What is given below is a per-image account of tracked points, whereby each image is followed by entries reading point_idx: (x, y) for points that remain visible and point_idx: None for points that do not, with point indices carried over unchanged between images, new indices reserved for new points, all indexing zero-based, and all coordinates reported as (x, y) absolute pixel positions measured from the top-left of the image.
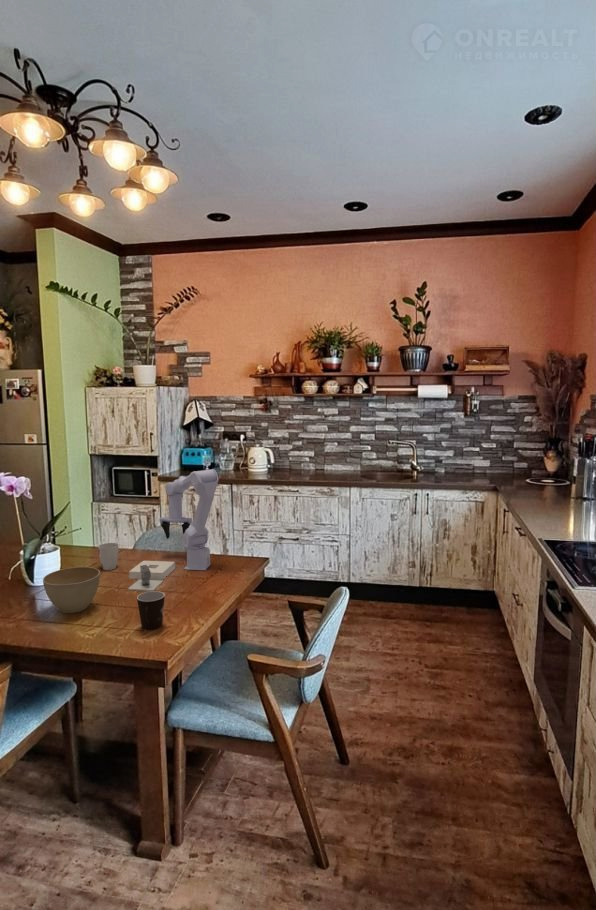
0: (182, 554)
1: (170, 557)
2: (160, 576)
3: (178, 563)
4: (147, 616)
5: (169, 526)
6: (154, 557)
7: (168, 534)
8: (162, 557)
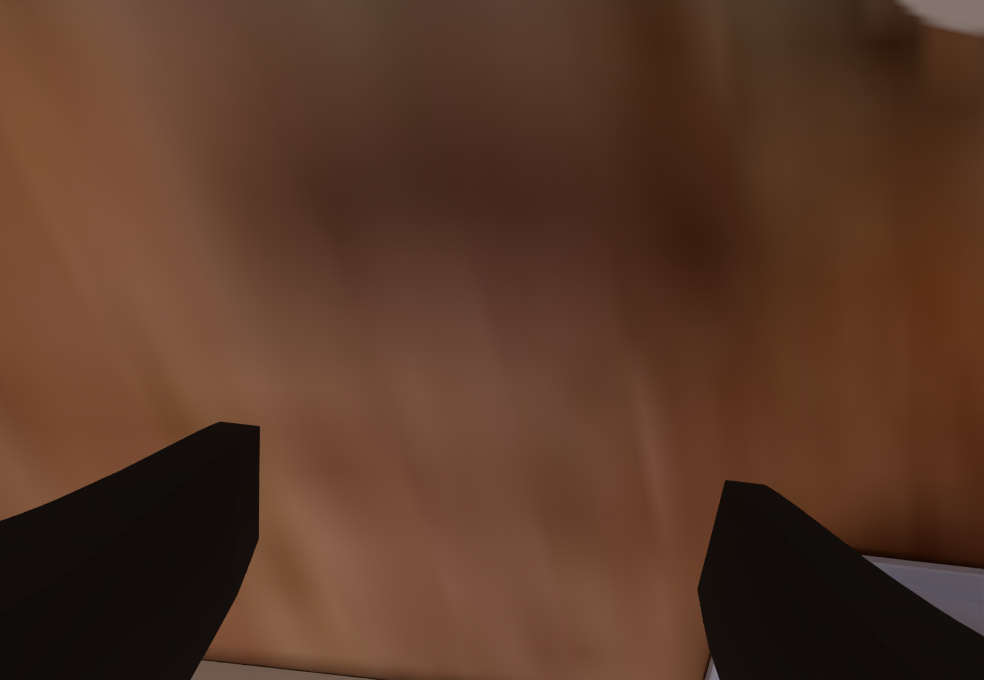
0: (540, 54)
1: (367, 238)
2: None
3: (571, 517)
4: None
5: (57, 599)
6: (93, 240)
7: (214, 557)
8: (229, 239)
